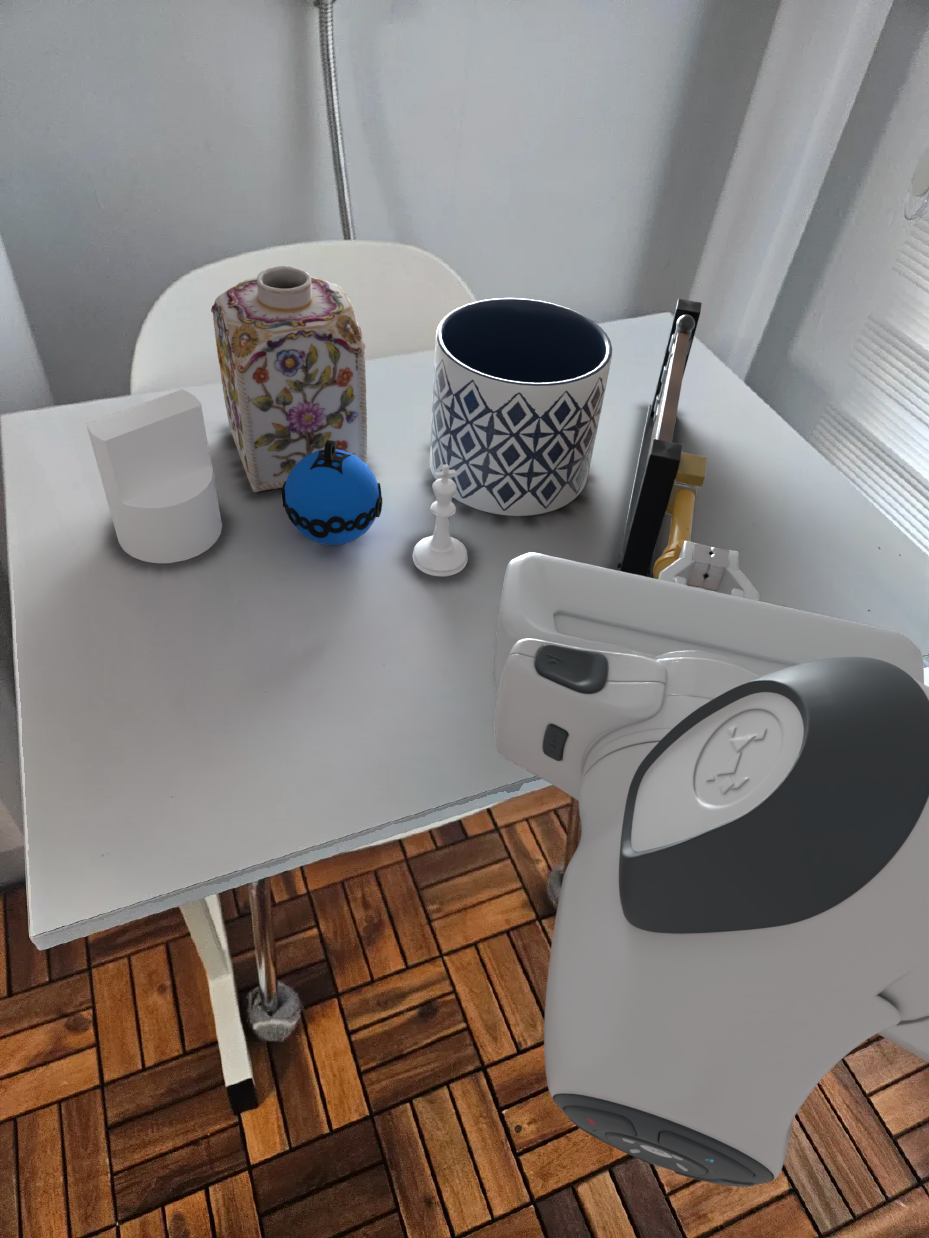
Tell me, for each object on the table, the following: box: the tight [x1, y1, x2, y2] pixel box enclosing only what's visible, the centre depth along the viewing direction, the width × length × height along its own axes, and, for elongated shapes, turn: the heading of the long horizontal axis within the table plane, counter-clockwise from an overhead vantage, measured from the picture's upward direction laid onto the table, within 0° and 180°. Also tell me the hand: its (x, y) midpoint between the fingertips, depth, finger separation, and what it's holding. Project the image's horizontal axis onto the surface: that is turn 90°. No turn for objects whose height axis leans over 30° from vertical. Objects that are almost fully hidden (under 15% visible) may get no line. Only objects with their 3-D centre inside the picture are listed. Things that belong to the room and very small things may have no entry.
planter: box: [429, 297, 613, 517], centre depth 84 cm, size 16×16×14 cm
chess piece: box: [412, 464, 469, 577], centre depth 76 cm, size 5×5×10 cm
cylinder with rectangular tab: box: [86, 389, 223, 564], centre depth 75 cm, size 9×9×12 cm
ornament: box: [280, 440, 383, 546], centre depth 77 cm, size 9×9×10 cm
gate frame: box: [616, 298, 708, 577], centre depth 84 cm, size 29×5×13 cm, turn 166°
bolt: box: [652, 490, 695, 586], centre depth 67 cm, size 11×3×4 cm, turn 166°
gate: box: [646, 315, 695, 464], centre depth 84 cm, size 23×2×12 cm, turn 165°
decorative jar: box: [210, 265, 368, 493], centre depth 83 cm, size 12×12×18 cm
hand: (707, 555), depth 48 cm, fingers closed
